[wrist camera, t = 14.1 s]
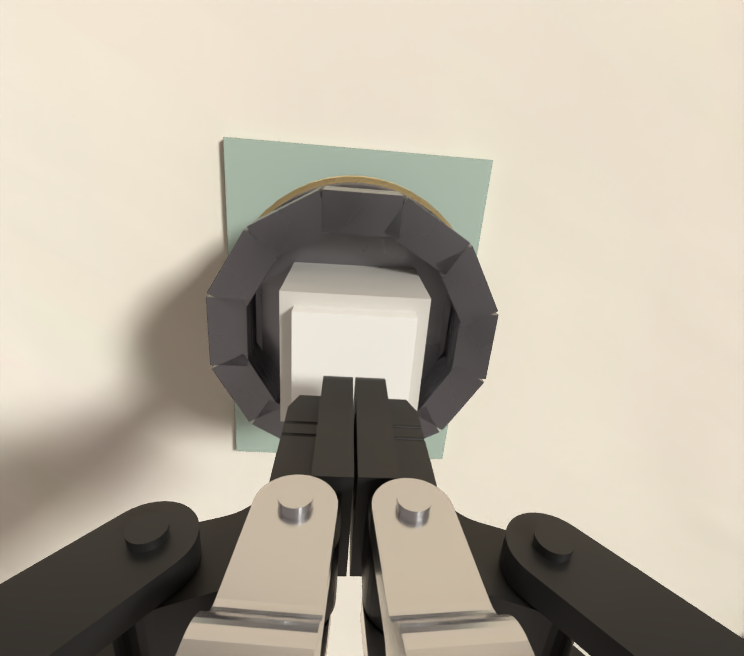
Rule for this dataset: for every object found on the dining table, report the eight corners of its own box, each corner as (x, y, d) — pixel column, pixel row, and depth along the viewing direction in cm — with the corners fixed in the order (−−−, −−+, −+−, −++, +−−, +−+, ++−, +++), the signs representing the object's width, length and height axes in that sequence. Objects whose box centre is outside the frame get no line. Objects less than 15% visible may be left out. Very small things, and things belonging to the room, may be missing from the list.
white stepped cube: (415, 269, 15) (434, 305, 12) (403, 375, 17) (417, 435, 13) (294, 261, 15) (276, 296, 11) (294, 370, 17) (278, 430, 13)
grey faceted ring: (458, 178, 22) (530, 197, 13) (432, 356, 26) (474, 466, 17) (257, 162, 21) (189, 169, 12) (260, 347, 25) (209, 456, 16)
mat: (490, 160, 22) (492, 160, 21) (441, 455, 29) (442, 459, 28) (225, 137, 21) (223, 136, 21) (238, 447, 28) (236, 450, 27)
